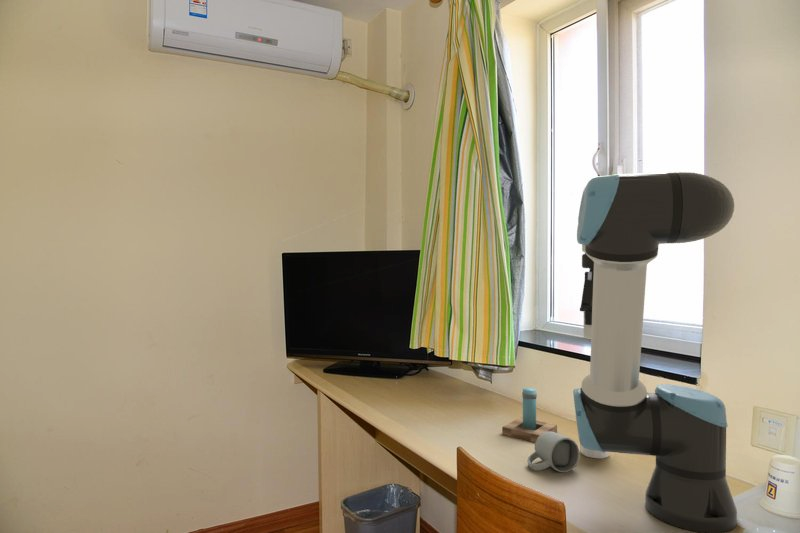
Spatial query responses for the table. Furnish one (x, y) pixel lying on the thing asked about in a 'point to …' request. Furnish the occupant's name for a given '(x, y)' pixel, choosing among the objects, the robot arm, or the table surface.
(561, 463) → the ceramic mug
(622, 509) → the table surface
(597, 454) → the white cup
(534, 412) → the banded teal cylinder
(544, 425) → the square hole plate
